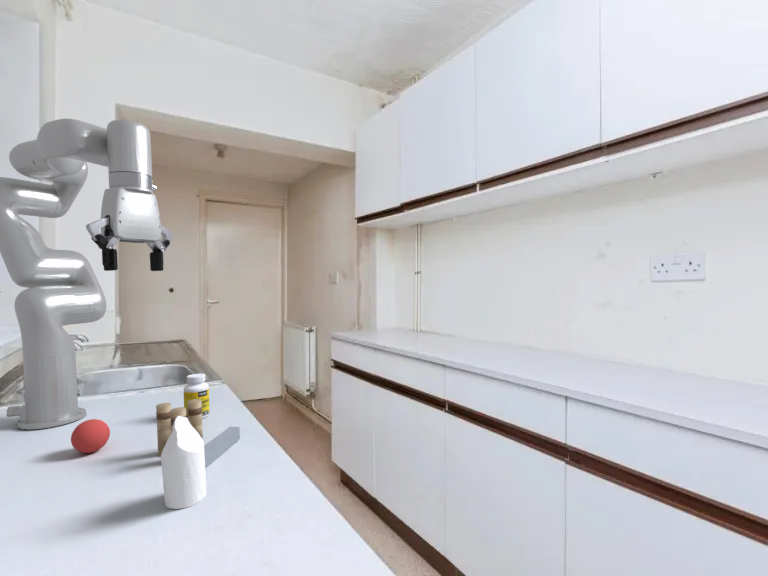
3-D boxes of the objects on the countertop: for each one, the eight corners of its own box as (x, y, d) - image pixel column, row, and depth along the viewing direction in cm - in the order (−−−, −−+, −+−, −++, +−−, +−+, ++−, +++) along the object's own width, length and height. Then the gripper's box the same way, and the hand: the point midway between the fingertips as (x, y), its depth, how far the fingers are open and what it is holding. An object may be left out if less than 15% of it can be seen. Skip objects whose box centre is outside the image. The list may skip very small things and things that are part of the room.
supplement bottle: (200, 421, 93) (198, 378, 93) (179, 420, 94) (177, 377, 94) (214, 413, 98) (213, 372, 98) (194, 412, 99) (193, 372, 99)
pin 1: (170, 463, 71) (168, 412, 71) (174, 457, 74) (172, 407, 73) (186, 461, 72) (184, 410, 72) (189, 455, 74) (187, 406, 74)
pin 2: (187, 451, 76) (185, 403, 76) (190, 446, 79) (188, 399, 78) (202, 449, 77) (200, 402, 77) (204, 444, 79) (202, 398, 79)
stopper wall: (189, 472, 68) (188, 457, 68) (230, 439, 82) (229, 426, 82) (200, 472, 68) (199, 457, 67) (239, 439, 81) (239, 426, 81)
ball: (64, 460, 74) (63, 427, 74) (81, 447, 80) (79, 416, 80) (102, 456, 75) (101, 423, 75) (115, 443, 81) (114, 413, 81)
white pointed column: (193, 422, 56) (151, 424, 56) (197, 508, 57) (155, 511, 56) (209, 408, 62) (170, 410, 62) (212, 486, 63) (174, 489, 62)
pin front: (156, 456, 74) (154, 407, 74) (160, 451, 77) (158, 403, 76) (171, 455, 75) (169, 406, 75) (174, 449, 77) (172, 402, 77)
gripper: (157, 195, 92) (160, 271, 92) (72, 178, 76) (77, 271, 76) (181, 191, 89) (184, 270, 89) (98, 173, 73) (102, 269, 73)
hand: (135, 270), depth 83 cm, fingers open, 9 cm apart
